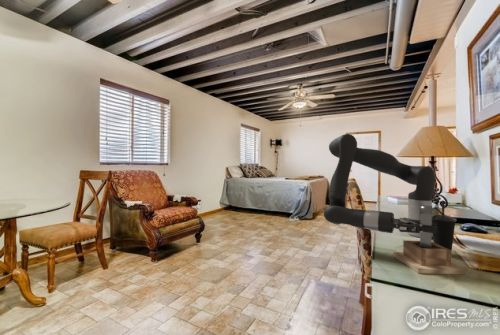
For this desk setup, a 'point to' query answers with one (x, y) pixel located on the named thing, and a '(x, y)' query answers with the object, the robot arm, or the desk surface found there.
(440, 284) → the desk surface
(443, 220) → the drinking cup
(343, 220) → the robot arm
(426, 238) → the ball topped joystick
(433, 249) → the wooden square box
